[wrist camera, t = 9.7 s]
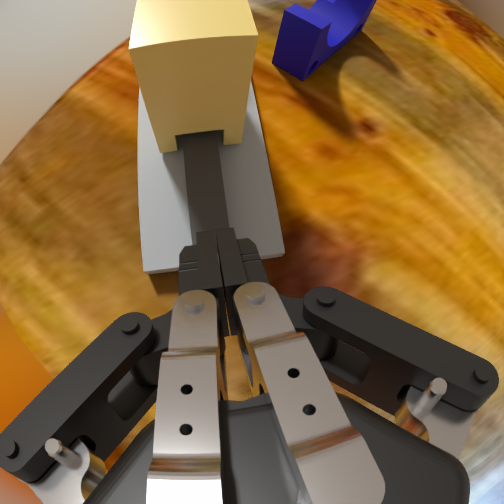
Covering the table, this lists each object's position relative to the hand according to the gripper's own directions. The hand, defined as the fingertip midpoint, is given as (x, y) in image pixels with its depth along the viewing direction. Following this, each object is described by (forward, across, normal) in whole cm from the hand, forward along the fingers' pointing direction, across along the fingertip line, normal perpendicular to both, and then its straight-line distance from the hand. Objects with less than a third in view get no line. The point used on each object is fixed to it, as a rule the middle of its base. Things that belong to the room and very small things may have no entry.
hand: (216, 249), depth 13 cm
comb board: (+10, 0, -2) cm, 10 cm away
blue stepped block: (+18, -11, -9) cm, 23 cm away
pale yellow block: (+10, 0, -4) cm, 11 cm away
